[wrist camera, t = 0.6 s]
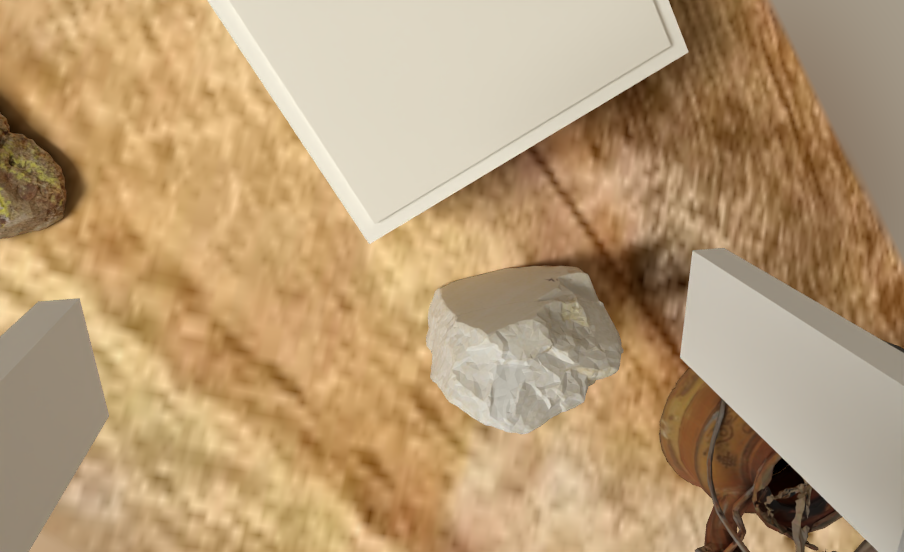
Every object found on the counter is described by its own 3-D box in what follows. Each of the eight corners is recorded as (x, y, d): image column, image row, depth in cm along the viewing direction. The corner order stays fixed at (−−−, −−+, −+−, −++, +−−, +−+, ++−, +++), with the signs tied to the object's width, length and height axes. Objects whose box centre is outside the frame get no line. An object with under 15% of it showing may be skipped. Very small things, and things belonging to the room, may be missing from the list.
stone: (565, 246, 40) (645, 319, 30) (578, 317, 42) (658, 411, 32) (406, 290, 40) (430, 382, 29) (426, 361, 42) (456, 472, 31)
